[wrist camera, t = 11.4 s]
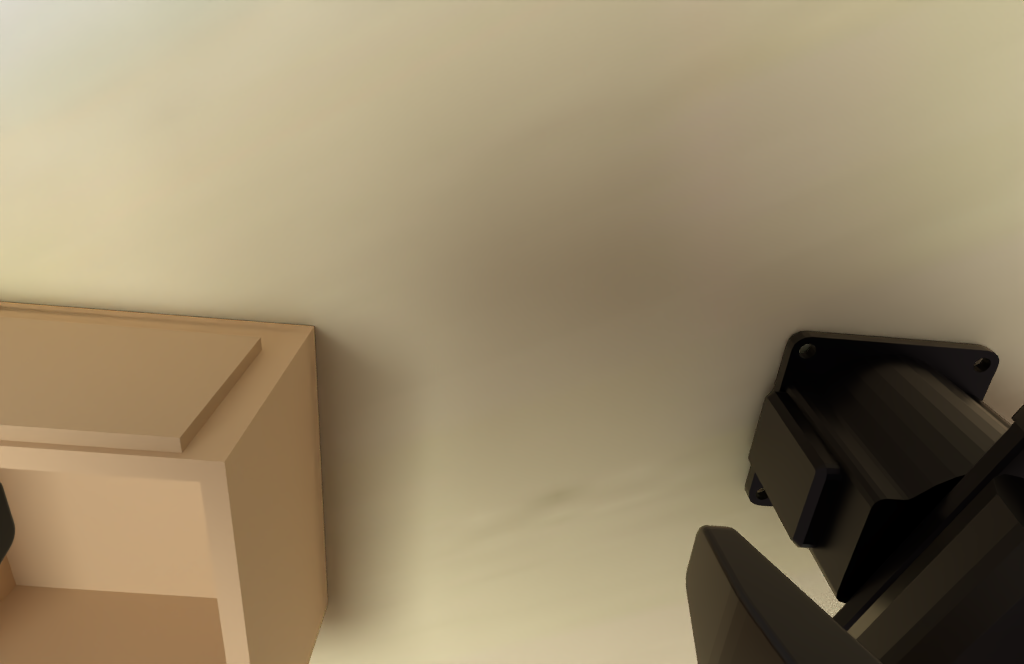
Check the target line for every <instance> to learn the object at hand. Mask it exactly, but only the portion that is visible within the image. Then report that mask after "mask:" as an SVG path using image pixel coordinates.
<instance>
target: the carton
mask: <svg viewBox="0 0 1024 664" xmlns="http://www.w3.org/2000/svg"><path fill="white" fill-rule="evenodd" d="M0 482H1V483H2V485H3V488H4V491H5V494H6V497H7V501H8V504H9V507H10V510H11V514H12V517H13V520H14V523H15V536H14V540H13V543H12V545H11V547H10V549H9V551H8V552H7V554H6V556H5V557H4V559H3V561H2V562H1V564H0V664H309V661H310V658H311V655H312V652H313V648H314V645H315V642H316V639H317V636H318V633H319V630H320V627H321V624H322V621H323V617H324V614H325V611H326V608H327V605H328V596H327V576H326V555H325V535H324V515H323V494H322V474H321V454H320V433H319V413H318V393H317V372H316V352H315V332H314V326H305V325H293V324H280V323H267V322H254V321H241V320H229V319H216V318H203V317H190V316H177V315H164V314H152V313H139V312H126V311H113V310H100V309H88V308H75V307H62V306H49V305H36V304H24V303H11V302H0Z"/></svg>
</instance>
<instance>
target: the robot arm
mask: <svg viewBox="0 0 1024 664" xmlns="http://www.w3.org/2000/svg"><path fill="white" fill-rule="evenodd" d="M805 344H811V346H810V348H809V349H808V350H807V351H806V352H803V353H799V350H800V349H801V347H802V346H804V345H805ZM981 358H982V360H981V362H980V363H979V364H977V365H976V366H974V364H975V362H976V361H977V360H979V359H981ZM998 364H999V358H998V356H997V355H996V354H995V353H994V352H993V351H992V350H990V349H989V348H987V347H986V346H982V345H975V344H963V343H950V342H937V341H925V340H912V339H900V338H887V337H875V336H862V335H850V334H837V333H824V332H812V331H803V332H799V333H796V334H794V335H793V336H792V337H791V338H790V339H789V341H788V343H787V345H786V348H785V352H784V355H783V358H782V362H781V365H780V369H779V372H778V375H777V379H776V382H775V386H774V389H773V391H772V392H771V393H770V394H769V395H768V396H767V397H766V398H765V401H764V404H763V408H762V411H761V415H760V418H759V422H758V425H757V429H756V432H755V435H754V439H753V442H752V446H751V449H750V453H749V457H748V459H749V461H750V463H751V467H750V471H749V474H748V478H747V481H746V484H745V491H746V493H747V495H748V497H749V499H750V501H751V502H752V503H754V504H756V505H761V506H773V507H774V509H775V510H776V512H777V514H778V516H779V518H780V520H781V522H782V524H783V526H784V527H785V529H786V531H787V533H788V535H789V537H790V539H791V540H792V541H793V542H794V543H795V544H796V546H797V547H801V548H809V550H810V551H811V553H812V555H813V557H814V559H815V560H816V562H817V564H818V566H819V568H820V569H821V571H822V573H823V575H824V577H825V578H826V580H827V582H828V584H829V586H830V587H831V589H832V591H833V593H834V595H835V596H836V598H837V599H838V601H839V602H843V603H846V604H845V605H844V606H843V607H842V608H841V609H840V610H839V611H838V613H837V614H836V615H835V616H834V617H833V618H832V617H830V616H829V615H828V614H827V613H826V612H825V611H824V610H823V609H822V608H821V607H819V606H818V605H817V604H816V603H815V602H814V601H813V600H812V599H811V598H810V597H808V596H807V595H806V594H805V593H804V592H803V591H802V590H801V589H800V588H799V587H797V586H796V585H795V584H794V583H793V582H792V581H791V580H790V579H789V578H788V577H786V576H785V575H784V574H783V573H782V572H781V571H780V570H779V569H778V568H777V567H775V566H774V565H773V564H772V563H771V562H770V561H769V560H768V559H767V558H766V557H764V556H763V555H762V554H761V553H760V552H759V551H758V550H757V549H756V548H755V547H753V546H752V545H751V544H750V543H749V542H748V541H747V540H746V539H745V538H744V537H742V536H741V535H740V534H739V533H738V532H737V531H736V530H734V529H733V528H730V527H724V526H709V525H704V526H702V527H700V528H699V530H698V532H697V534H696V538H695V542H694V546H693V549H692V553H691V557H690V561H689V564H688V568H687V573H686V591H687V598H688V604H689V610H690V617H691V623H692V629H693V636H694V642H695V649H696V655H697V661H698V664H1024V405H1023V406H1022V407H1021V408H1020V409H1019V410H1018V411H1017V412H1016V413H1015V414H1014V415H1013V417H1012V419H1013V420H1014V423H1013V424H1012V425H1011V424H1009V423H1008V422H1007V421H1006V420H1005V419H1003V418H1002V417H1001V416H1000V415H998V414H997V413H996V412H995V411H994V410H992V409H991V408H990V407H989V406H987V405H986V404H985V403H984V402H982V400H983V398H984V396H985V394H986V391H987V389H988V387H989V385H990V383H991V380H992V378H993V376H994V374H995V372H996V369H997V367H998ZM761 488H764V491H762V492H757V491H758V490H759V489H761ZM14 536H15V523H14V520H13V517H12V514H11V510H10V507H9V504H8V501H7V497H6V494H5V491H4V488H3V485H2V483H1V482H0V564H1V562H2V561H3V559H4V557H5V556H6V554H7V552H8V551H9V549H10V547H11V545H12V543H13V540H14Z"/></svg>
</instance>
